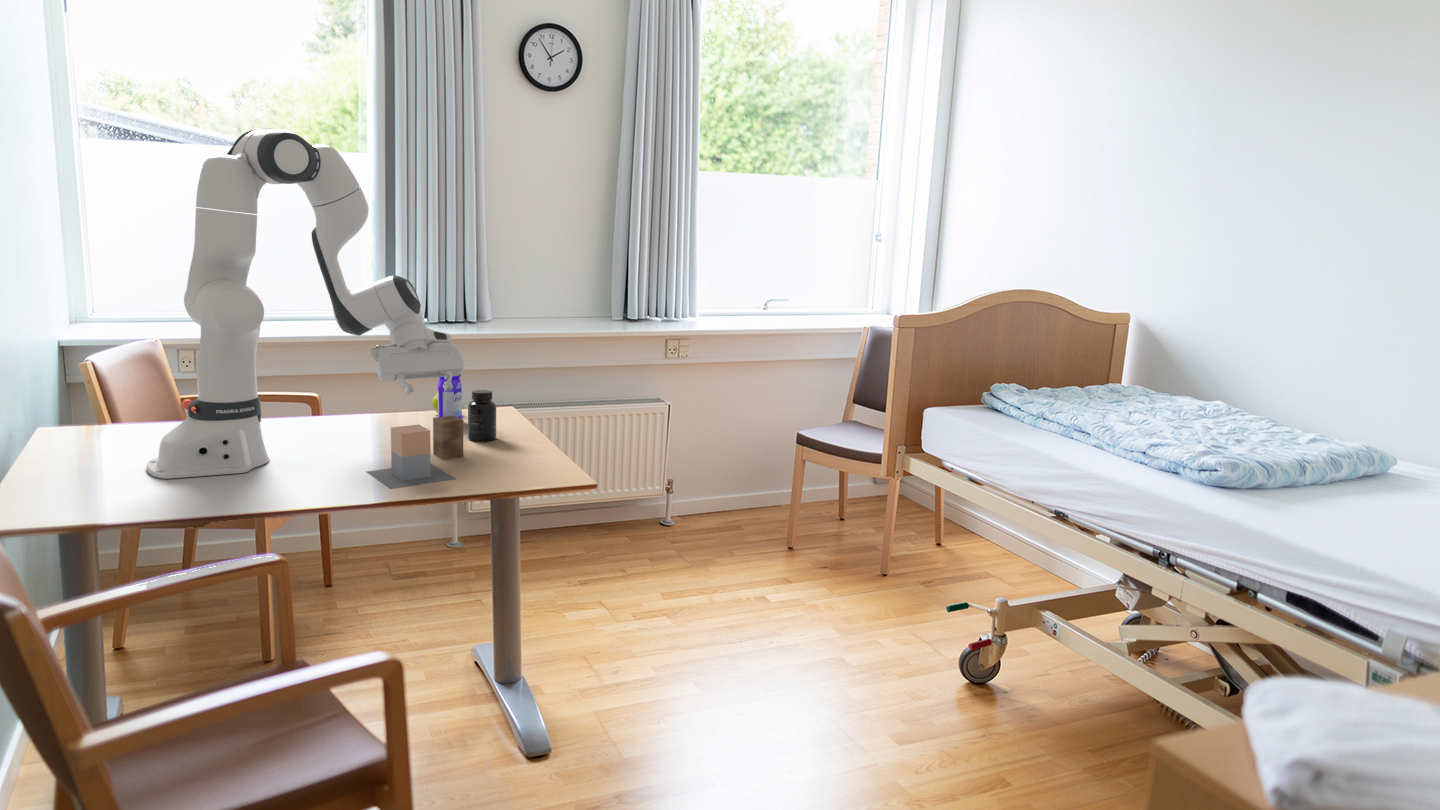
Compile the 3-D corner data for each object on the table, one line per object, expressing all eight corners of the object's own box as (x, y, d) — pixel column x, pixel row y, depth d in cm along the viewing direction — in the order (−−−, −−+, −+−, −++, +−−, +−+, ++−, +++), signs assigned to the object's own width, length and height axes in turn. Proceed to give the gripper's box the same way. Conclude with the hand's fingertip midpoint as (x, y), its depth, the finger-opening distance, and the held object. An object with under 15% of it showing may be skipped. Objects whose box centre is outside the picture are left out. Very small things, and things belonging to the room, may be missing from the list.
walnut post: (442, 461, 205) (442, 422, 204) (433, 456, 209) (433, 417, 207) (463, 458, 209) (463, 420, 207) (454, 453, 212) (454, 415, 210)
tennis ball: (457, 417, 248) (457, 393, 246) (431, 417, 246) (431, 393, 245) (458, 412, 254) (458, 388, 253) (433, 412, 253) (433, 388, 251)
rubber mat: (390, 490, 183) (390, 488, 183) (365, 473, 193) (365, 471, 193) (456, 480, 192) (456, 478, 192) (430, 464, 202) (430, 463, 202)
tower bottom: (402, 480, 188) (402, 457, 187) (391, 473, 193) (391, 450, 192) (430, 476, 192) (430, 453, 191) (419, 469, 196) (419, 447, 195)
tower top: (402, 457, 187) (401, 433, 186) (391, 450, 192) (390, 427, 191) (430, 453, 191) (430, 430, 190) (419, 447, 195) (418, 424, 194)
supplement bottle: (501, 439, 227) (502, 392, 224) (477, 443, 222) (477, 395, 220) (486, 434, 231) (486, 387, 229) (462, 438, 226) (462, 390, 224)
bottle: (456, 427, 237) (456, 360, 234) (434, 425, 237) (434, 359, 234) (464, 420, 244) (464, 356, 241) (443, 419, 244) (443, 355, 241)
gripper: (372, 337, 211) (388, 386, 205) (456, 333, 224) (474, 379, 218) (365, 354, 215) (382, 402, 210) (448, 349, 228) (466, 394, 223)
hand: (429, 391), depth 214 cm, fingers open, 8 cm apart
